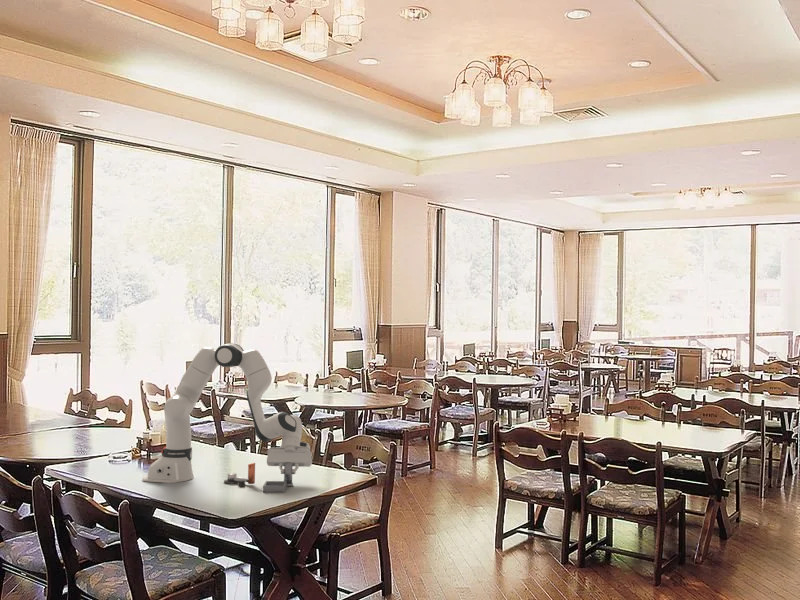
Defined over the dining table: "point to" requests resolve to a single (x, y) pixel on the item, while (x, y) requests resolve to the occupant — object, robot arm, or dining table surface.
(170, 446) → the robot arm
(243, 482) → the stop block
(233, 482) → the crank base
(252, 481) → the crank
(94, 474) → the dining table surface
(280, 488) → the tray
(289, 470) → the pin
